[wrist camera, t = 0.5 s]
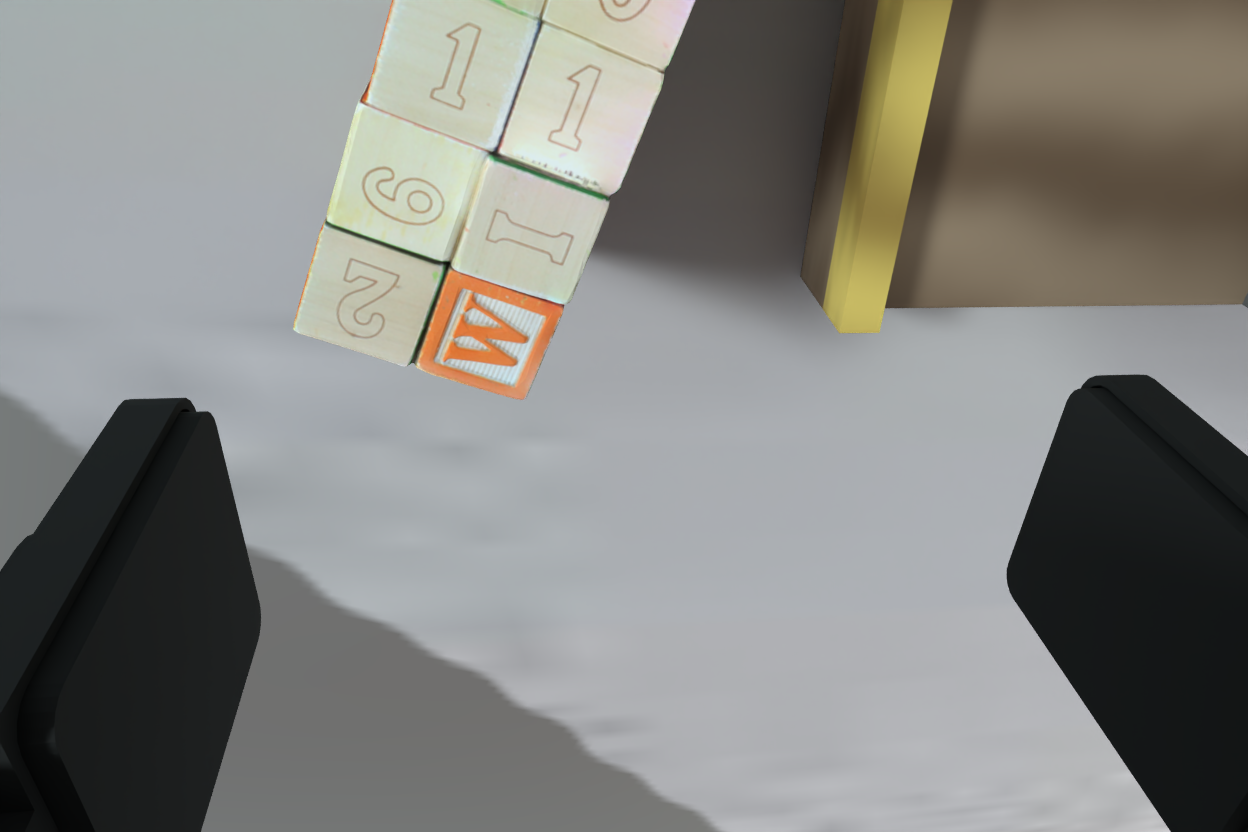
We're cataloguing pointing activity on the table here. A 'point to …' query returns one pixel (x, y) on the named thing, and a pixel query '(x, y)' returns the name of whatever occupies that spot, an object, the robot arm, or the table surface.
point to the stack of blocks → (483, 179)
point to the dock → (1032, 157)
